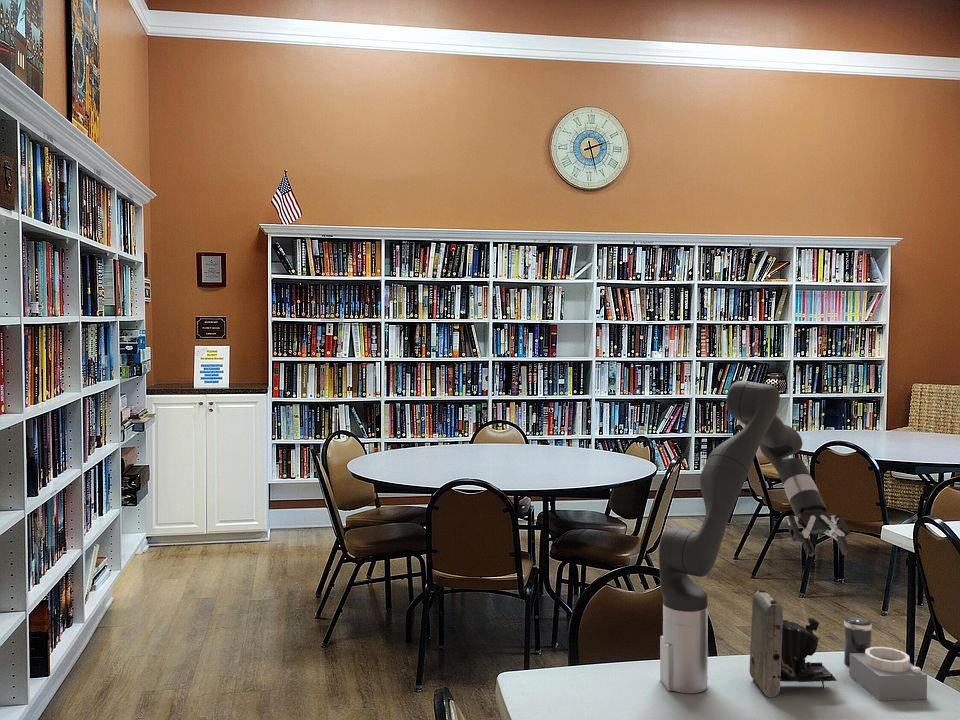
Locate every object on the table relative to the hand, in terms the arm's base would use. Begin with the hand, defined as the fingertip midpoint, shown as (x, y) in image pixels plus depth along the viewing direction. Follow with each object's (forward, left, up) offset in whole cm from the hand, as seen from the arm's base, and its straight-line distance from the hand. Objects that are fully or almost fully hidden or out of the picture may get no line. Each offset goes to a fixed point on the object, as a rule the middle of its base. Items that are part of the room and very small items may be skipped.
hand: (829, 553), depth 196 cm
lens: (+1, -12, -22) cm, 25 cm away
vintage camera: (-19, -23, -22) cm, 37 cm away
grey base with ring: (+1, -24, -22) cm, 32 cm away
